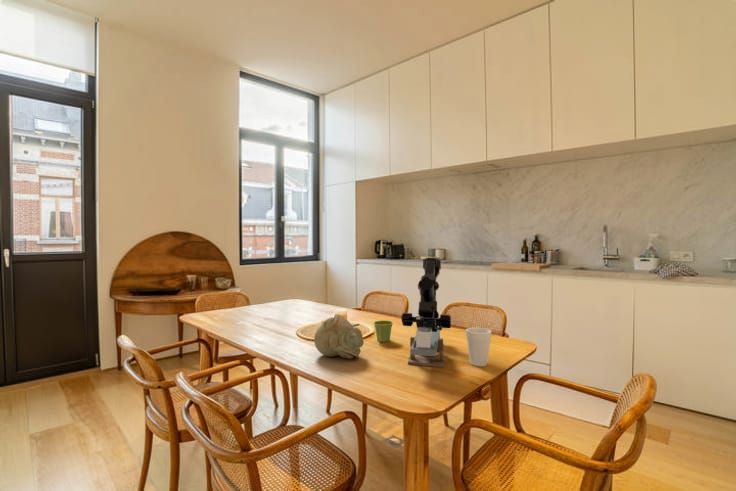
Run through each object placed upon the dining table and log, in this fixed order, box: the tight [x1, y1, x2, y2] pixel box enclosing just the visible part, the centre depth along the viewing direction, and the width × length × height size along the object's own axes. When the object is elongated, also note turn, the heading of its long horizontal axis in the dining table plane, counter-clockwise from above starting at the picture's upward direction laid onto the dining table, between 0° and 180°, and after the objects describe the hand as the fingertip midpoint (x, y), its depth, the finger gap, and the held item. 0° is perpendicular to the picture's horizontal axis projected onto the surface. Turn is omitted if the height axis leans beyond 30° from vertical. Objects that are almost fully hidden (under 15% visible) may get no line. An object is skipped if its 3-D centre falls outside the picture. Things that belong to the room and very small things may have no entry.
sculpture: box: [313, 313, 365, 360], centre depth 154 cm, size 18×20×20 cm
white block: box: [415, 327, 432, 349], centre depth 134 cm, size 6×5×7 cm
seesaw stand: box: [407, 336, 446, 368], centre depth 145 cm, size 8×14×10 cm, turn 76°
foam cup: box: [465, 326, 492, 367], centre depth 143 cm, size 10×9×13 cm
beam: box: [409, 330, 441, 357], centre depth 144 cm, size 28×9×8 cm, turn 166°
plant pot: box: [373, 320, 394, 343], centre depth 176 cm, size 9×9×9 cm
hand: (424, 340), depth 137 cm, fingers closed, pressing on white block
